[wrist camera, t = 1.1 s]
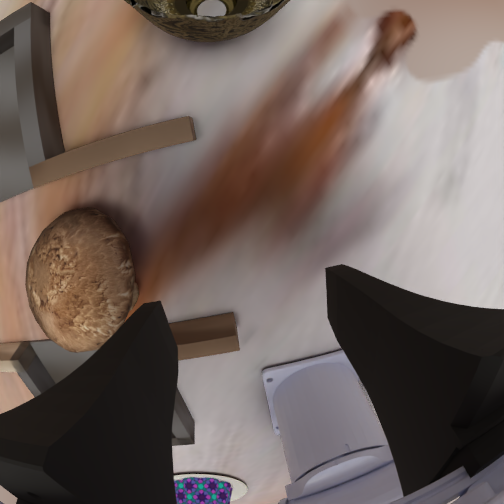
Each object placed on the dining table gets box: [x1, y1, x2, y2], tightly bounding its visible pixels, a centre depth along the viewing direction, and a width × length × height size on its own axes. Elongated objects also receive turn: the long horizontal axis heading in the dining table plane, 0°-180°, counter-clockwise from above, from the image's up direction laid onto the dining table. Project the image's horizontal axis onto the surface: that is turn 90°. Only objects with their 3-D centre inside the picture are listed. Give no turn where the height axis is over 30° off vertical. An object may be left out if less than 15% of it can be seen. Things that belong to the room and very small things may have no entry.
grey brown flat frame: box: [0, 2, 240, 446], centre depth 16 cm, size 33×26×2 cm
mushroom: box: [25, 208, 139, 353], centre depth 15 cm, size 8×8×6 cm
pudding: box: [174, 474, 248, 504], centre depth 28 cm, size 12×12×5 cm
